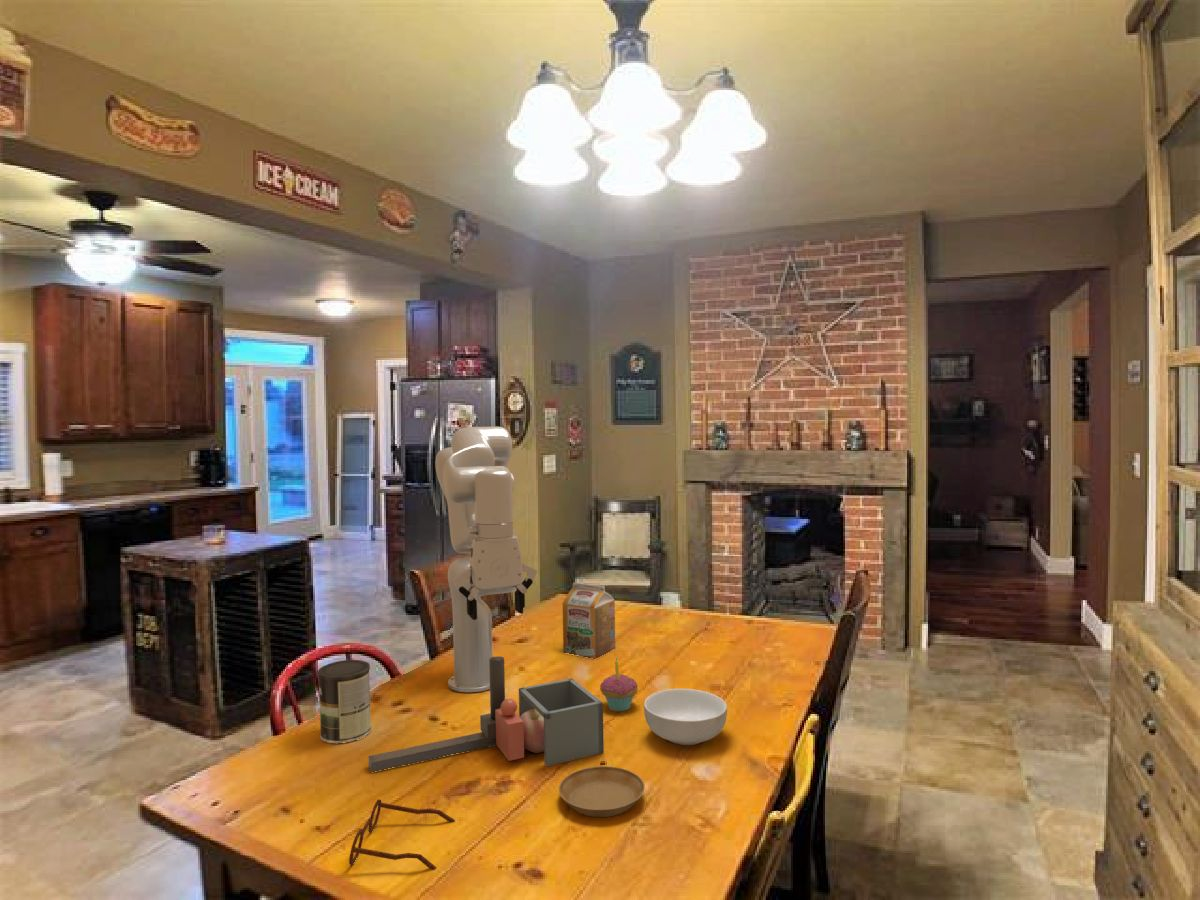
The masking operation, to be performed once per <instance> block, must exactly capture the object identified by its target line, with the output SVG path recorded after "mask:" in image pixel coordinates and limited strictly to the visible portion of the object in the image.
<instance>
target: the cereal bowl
mask: <svg viewBox="0 0 1200 900" xmlns="http://www.w3.org/2000/svg"><path fill="white" fill-rule="evenodd" d="M643 712H644V713H643V714H644V719H645V722H646V724H647V726H648V727H649V728H650V730H651V731H652V732H653V733H654V734H655V735H657V736H659V737H660V738H662V739H664V740H667V741H669V742H671V743H673V744H676V745H681V746H682V745H683V746H695V745H698V744H700V743H704V742H707V741H709V740H711V739H713V738H715V737H717V736H718V735H719V734H720V733H721V731H723V729H724V727H725V725H726V721H727V716H728V705H727V702H726V701H724V699H722V698H721V697H720V696H717V695H716V694H714V693H711V692H709V691H705V690H699V689H693V688H672V689H671V688H670V689H664V690H663V689H662V690H659V691H656V692H654V693H652V694H650V695H649V696H647V697H646V698H645V700H644V702H643Z"/></svg>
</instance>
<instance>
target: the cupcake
mask: <svg viewBox="0 0 1200 900" xmlns="http://www.w3.org/2000/svg"><path fill="white" fill-rule="evenodd" d="M614 662H615V664H614V665H615V666H614V667H615V674H613V675H610V676H608V677H606V678H604V679H603V680H602V682H600V684H599V685H600V688H599V691H600V692H601V694H602V695H603V696H604V697H605V699H606V702H607V705H608V708H609V710H610V711H613V710H614V711H613V712H624V711H625V712H626V711H628V710H629V709H630V708H631V704H632V701H633V698H634V697H635V695H636V694H637V693H638V683H637V681H636V680H634V678H632V677H630V676H628V675H625V674H620V672H619V660H618V659H617V657H615V661H614Z"/></svg>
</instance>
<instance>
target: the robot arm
mask: <svg viewBox="0 0 1200 900" xmlns="http://www.w3.org/2000/svg"><path fill="white" fill-rule="evenodd" d="M512 453H513V441H512V436H511V434H510V433H509V431H508V430H507V428H504V427H503V426H498V425H497V426H495V425H494V426H467V427H463V428H460V429H458V430H457V431H456V432H454V434H453V435H452V438H451V442H450V447H449V446H448V447H445V448H442V449H440V450H439V451H438V452H437V453H436V456H435V462H434V463H435V471H436V477H437V480H438V482H439V486H440V488H441V490H442V492H443V495H444V497H445V499H446V503H447V511H448V522H449V523H448V524H449V525H448V526H449V533H450V534H449V535H450V541H451V546H452V549H453V550H454V551H455V552H456V553H458V554H470V555H469V556H465V557H462V558H461V557H460V558H458V559H456V560H454V561H453V562H452V563H450V564H449V566H448V570H447V580H448V581H447V582H448V587H449V591H450V598H451V609H452V610H451V611H452V635H453V637H452V639H453V640H452V641H453V673H454V674H453V676H451V677H450V678H449V679H448V682H447V685H448V688H449V689H450V690H452V691H455V692H459V693H478V692H485V691H487V690H490V669H489V659H490V658H491V657H494V653H493V652H494V651H493V621H492V617H493V616H492V610H491V608H490V607H489V606H488V604H487V603H486V602H485V601H484V600H483V599H482V597H483V596H487V595H489V596H490V595H499V594H507V593H509V594H510V593H512V592H514V610H515V611H516V612H517V613H518V614H523V613H524V608H525V607H526V597H525V596H526V595H525V594H526V593H528V589H529V588H530V587H531V586H532V584H533V581H534V580H535V578H536V575H537V571H538V570H536V569H535V568H533V567H530V566H527V565H526V564H523V562H522V552H521V547H520V542H519V541H520V540H519V538H518V536H516V535H515V528H514V506H513V503H514V502H513V494H514V490H515V479H514V474H513V473H511V471H510V469H509V468H507V466H508V464H509V462H510V459H511V457H512ZM523 572H524V573H526V577H525V578H523V577H524V575H523V574H524V573H523Z"/></svg>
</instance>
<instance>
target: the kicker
mask: <svg viewBox="0 0 1200 900" xmlns="http://www.w3.org/2000/svg"><path fill="white" fill-rule="evenodd" d="M489 669H490V689H489V698H490V699H489V700H490V701H489V704H490V706H489V707H490V713H486V714H481V715H480V731H481V732H483V734H484V735H485V736H486V737H487V739H492V738H496V745H497V747H498V749H499V750H500V751H501V752H502V754H503V755H504V757H506V759H507V760H508V761H509V762H510V761H515V760H520V759H523V758H525V748H524V727H523V721H522V719H521V718H520V717H519V714H517V713H516V712H517V710H518V704H517V702H516V701H515V700H514V699H512V698H506V684H505V683H506V677H505V675H506V674H505V658H504V657H503V656H498V655H497V656H493V657H491V658H490V659H489Z"/></svg>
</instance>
